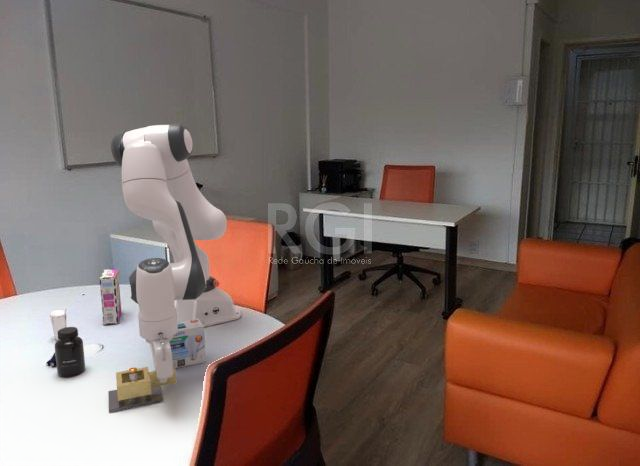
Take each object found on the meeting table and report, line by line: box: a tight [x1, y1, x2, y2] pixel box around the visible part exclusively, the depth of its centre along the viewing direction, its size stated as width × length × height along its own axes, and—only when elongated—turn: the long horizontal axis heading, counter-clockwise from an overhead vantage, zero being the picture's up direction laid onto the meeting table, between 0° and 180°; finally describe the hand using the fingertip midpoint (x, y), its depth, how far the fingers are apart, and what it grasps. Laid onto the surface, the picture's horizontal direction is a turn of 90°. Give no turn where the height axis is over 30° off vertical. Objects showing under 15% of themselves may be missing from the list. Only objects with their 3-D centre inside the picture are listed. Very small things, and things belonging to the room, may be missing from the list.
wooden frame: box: [115, 366, 177, 401], centre depth 122 cm, size 14×7×4 cm, turn 113°
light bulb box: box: [169, 319, 207, 369], centre depth 139 cm, size 11×7×11 cm, turn 117°
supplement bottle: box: [54, 326, 86, 378], centre depth 133 cm, size 7×7×12 cm
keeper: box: [107, 367, 164, 414], centre depth 120 cm, size 12×9×8 cm
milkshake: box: [49, 308, 68, 341], centre depth 154 cm, size 4×5×10 cm
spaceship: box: [46, 352, 56, 368], centre depth 139 cm, size 7×6×5 cm
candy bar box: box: [99, 268, 122, 326], centre depth 169 cm, size 11×5×16 cm, turn 16°
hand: (162, 378), depth 123 cm, fingers closed on wooden frame
